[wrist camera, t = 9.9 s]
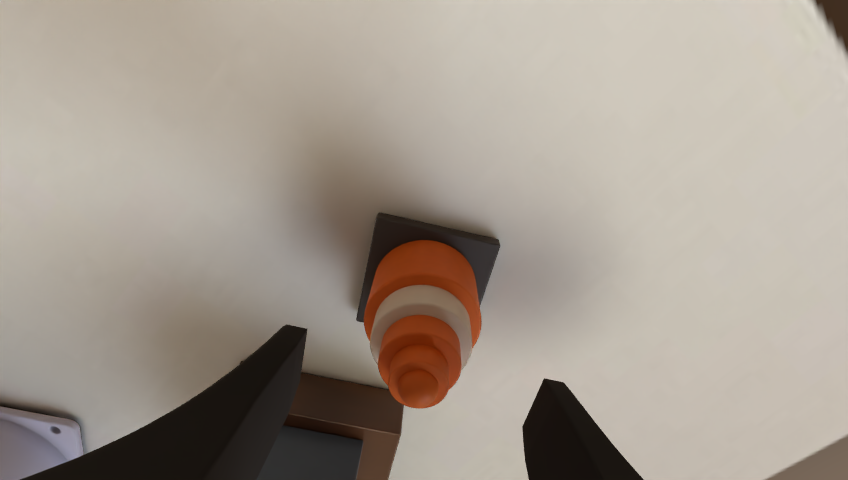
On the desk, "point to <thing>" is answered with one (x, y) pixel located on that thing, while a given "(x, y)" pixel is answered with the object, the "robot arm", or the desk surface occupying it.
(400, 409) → the base block
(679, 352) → the desk surface
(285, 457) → the blue block
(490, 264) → the cone
